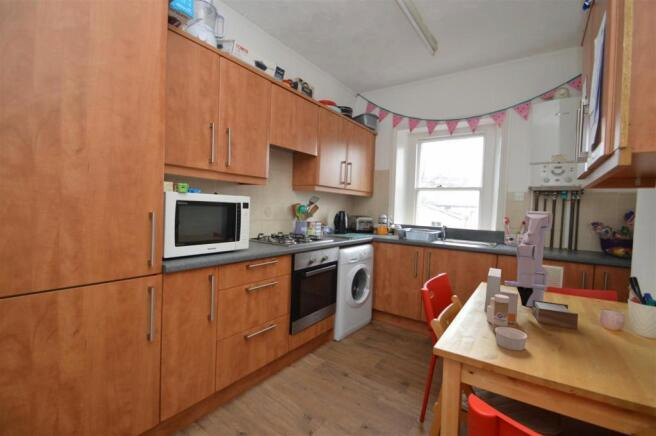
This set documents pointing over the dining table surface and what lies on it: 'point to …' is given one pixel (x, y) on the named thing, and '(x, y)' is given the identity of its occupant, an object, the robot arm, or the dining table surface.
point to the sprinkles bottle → (500, 311)
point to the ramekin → (510, 338)
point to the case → (555, 316)
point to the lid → (551, 307)
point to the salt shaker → (490, 311)
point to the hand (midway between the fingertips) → (523, 305)
